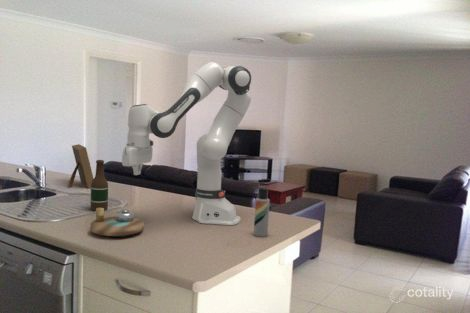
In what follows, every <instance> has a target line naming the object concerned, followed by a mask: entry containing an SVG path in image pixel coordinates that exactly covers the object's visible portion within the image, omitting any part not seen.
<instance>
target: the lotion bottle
mask: <svg viewBox="0 0 470 313" xmlns="http://www.w3.org/2000/svg"><path fill="white" fill-rule="evenodd" d="M268 196H269V188H268V187H264V186H259V188H258V195H257V197H256V198H255V206H254V210H255V211H254V221H253V222H254V224H253V235H254V236H255V237H260V238H263V237H264V238H265V237H267V236H268V235H269V234H268V232H269V220H270V219H269V216H270V202H271V201H270V198H268Z"/></svg>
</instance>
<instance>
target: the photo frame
mask: <svg viewBox="0 0 470 313" xmlns="http://www.w3.org/2000/svg"><path fill="white" fill-rule="evenodd" d="M71 148H72V152H73V156H74V161H75V164H76V165H75V167H74V169H73V172H72V174H71V175H70V176H71V177H69V181H68V185H67V188H68V189H69V188H71V187H73V183H74V181H75V178H76V175H77V172H78V175H79V179H80V183H81V184H82V185H84V187H86V188H87V189H91V183H92V181H93V179H94V178H95V177H94V176H93V175H94V174H93V172H92V171H93V170H92V167H91V163H90V158H89V155H88V154H89V153H88V151H87V147H86V146H84V145H81V144H80V143H78V144H74V145H71Z"/></svg>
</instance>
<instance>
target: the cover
mask: <svg viewBox="0 0 470 313" xmlns="http://www.w3.org/2000/svg"><path fill="white" fill-rule="evenodd" d="M115 217H116V221H119V222H130V221H133V220H134V218H135V212H134V211H133V210H130V209H129V208H128V209H127V208H126V209H121V210H118V211H116V213H115Z"/></svg>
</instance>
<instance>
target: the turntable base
mask: <svg viewBox="0 0 470 313" xmlns="http://www.w3.org/2000/svg"><path fill="white" fill-rule="evenodd" d="M132 235H133V234H130V235H123V236H106V235H101V236H103V237H107V238H123V237H128V236H132Z"/></svg>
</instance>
